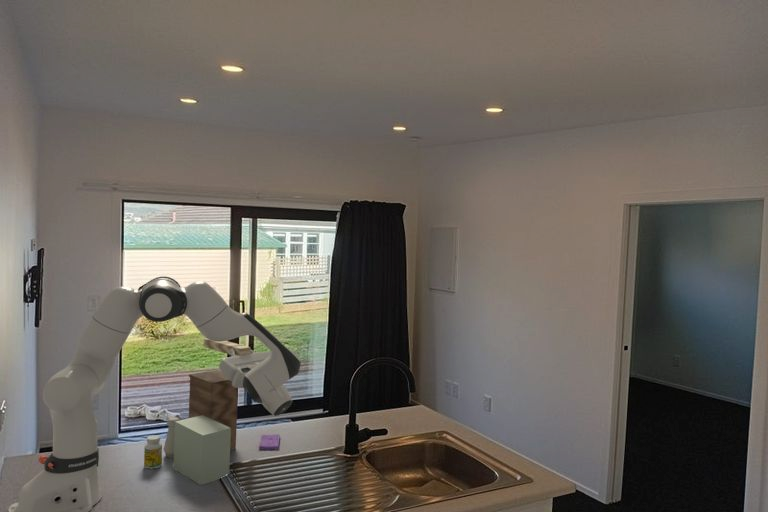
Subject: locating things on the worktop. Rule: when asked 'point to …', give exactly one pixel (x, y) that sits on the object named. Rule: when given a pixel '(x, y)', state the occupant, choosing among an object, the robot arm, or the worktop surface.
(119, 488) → the worktop surface
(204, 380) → the walnut block
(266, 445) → the sponges
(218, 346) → the beech bar
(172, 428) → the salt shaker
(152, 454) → the supplement bottle
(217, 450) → the pale green block
